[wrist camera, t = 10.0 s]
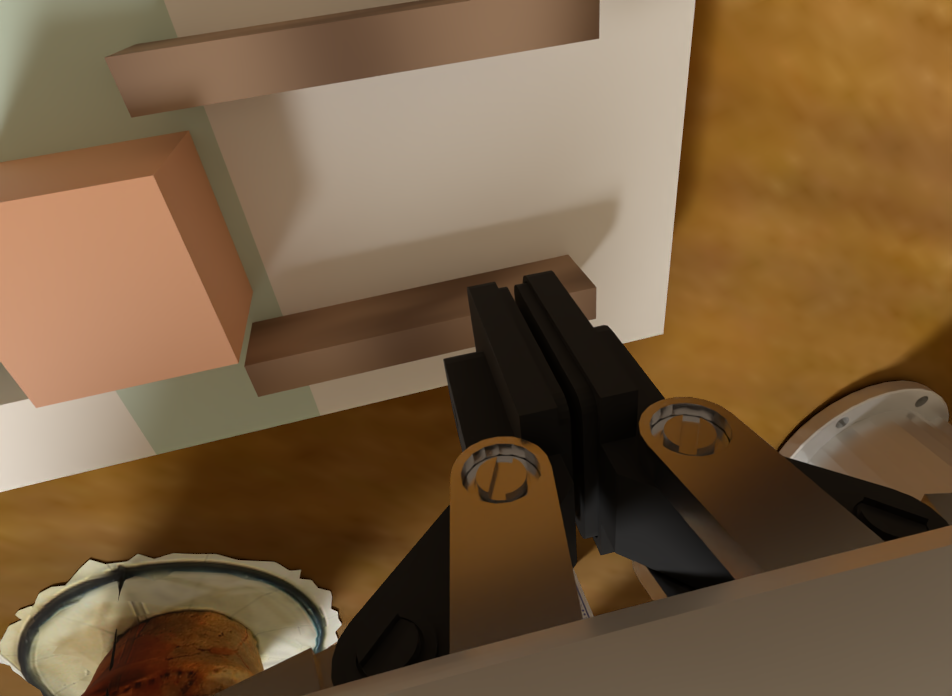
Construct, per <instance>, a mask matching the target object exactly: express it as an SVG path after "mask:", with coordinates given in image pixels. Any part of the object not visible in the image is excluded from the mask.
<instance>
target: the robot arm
mask: <svg viewBox="0 0 952 696" xmlns="http://www.w3.org/2000/svg"><path fill="white" fill-rule="evenodd" d="M467 295H468V302H469V309H470V315H471V322H472V329H473V335H474V342H475V349H476V352H473V353H468V354H463V355H458V356H454V357H449V358H444V359H443V361H444V367H445V373H446V378H447V383H448V388H449V393H450V398H451V403H452V408H453V413H454V417H455V422H456V426H457V431H458V435H459V439H460V443H461V447H462V453H461V454H460V455H459V456H458V458H457V459H456V461H455V463H454V464H453V466H452V470H451V475H450V505H449V506H448V507H447V508H446V509H445V510H444V512H443V513H442V514H441V515H440V516H439V518H438V519H437V520H436V521H435V522H434V523H433V525H432V526H431V527H430V528H429V529H428V531H427V532H426V533H425V534H424V535H423V537H422V538H421V539H420V540H419V541H418V542H417V544H416V545H415V546H414V547H413V548H412V550H411V551H410V552H409V553H408V554H407V555H406V557H405V558H404V559H403V560H402V561H401V563H400V564H399V565H398V566H397V567H396V568H395V570H394V571H393V572H392V573H391V574H390V576H389V577H388V578H387V579H386V580H385V582H384V583H383V584H382V585H381V586H380V587H379V589H378V590H377V591H376V592H375V593H374V595H373V596H372V597H371V598H370V599H369V600H368V602H367V603H366V604H365V605H364V606H363V608H362V609H361V610H360V611H359V612H358V613H357V615H356V616H355V617H354V618H353V619H352V621H351V622H350V623H349V624H348V626H347V627H346V629H345V630H344V632H343V633H342V635H341V637H340V638H339V640H338V642H337V644H335V645H333V646H331V647H329V648H327V649H325V650H323V651H321V652H319V653H317V654H315V653H314V651H313V650H312V648H309V649H307V650H305V651H303V652H301V653H299V654H297V655H295V656H292V657H290V658H288V659H286V660H284V661H282V662H280V663H278V664H276V665H274V666H272V667H270V668H268V669H266V670H264V671H261V672H259V673H257V674H255V675H253V676H251V677H249V678H247V679H245V680H243V681H241V682H239V683H237V684H235V685H233V686H230V687H228V688H226V689H224V690H222V691H220V692H218V693H216V694H214V695H212V696H952V425H951V424H950V423H948V419H949V412H948V408H947V404H946V403H945V401H944V400H943V398H942V397H941V396H939V395H938V394H937V393H935V392H934V391H932V390H931V389H930V388H928V387H927V386H925V385H922V384H920V383H917V382H912V381H892V382H884V383H881V384H877V385H873V386H869V387H866V388H864V389H861V390H859V391H856V392H854V393H851V394H849V395H847V396H845V397H843V398H842V399H840V400H838V401H836V402H834V403H832V404H831V405H829V406H828V407H826V408H825V409H823V410H822V411H820V412H819V413H818V414H816V415H815V416H813V417H812V418H811V419H810V420H809V421H808V422H806V423H805V424H804V425H803V426H802V427H800V428H799V429H798V430H797V431H796V432H795V433H794V434H793V436H792V437H791V438H790V439H789V440H788V441H787V442H786V443H785V444H784V446H783V447H782V448H781V450H780V451H779V452H778V451H776V450H775V449H774V448H773V447H772V446H770V445H769V444H768V443H767V442H766V441H764V440H763V439H762V438H761V437H760V436H759V435H757V434H756V433H755V432H754V431H753V430H751V429H750V428H749V427H748V426H747V425H745V424H744V423H743V422H742V421H741V420H739V419H738V418H737V417H736V416H735V415H734V414H732V413H731V412H729V411H728V410H726V409H725V408H723V407H722V406H720V405H718V404H715V403H713V402H710V401H707V400H704V399H699V398H693V397H673V398H668V399H665V398H664V397H663V396H662V394H661V393H660V392H659V390H658V389H657V388H656V386H655V385H654V384H653V383H652V381H651V380H650V379H649V377H648V376H647V375H646V373H645V372H644V371H643V370H642V368H641V367H640V366H639V364H638V363H637V362H636V361H635V359H634V358H633V357H632V355H631V354H630V353H629V351H628V350H627V349H626V348H625V346H624V345H623V344H622V342H621V341H620V340H619V338H618V337H617V336H616V335H615V333H614V332H613V331H612V329H611V328H610V327H608V326H607V325H601V326H597V327H593V326H592V325H591V323H590V322H589V320H588V319H587V318H586V316H585V315H584V314H583V312H582V311H581V309H580V308H579V307H578V305H577V304H576V302H575V301H574V300H573V298H572V297H571V295H570V294H569V293H568V291H567V290H566V289H565V287H564V286H563V284H562V283H561V282H560V280H559V279H558V277H557V276H556V275H555V273H554V272H553V271H552V270H550V271H545V272H540V273H535V274H530V275H525V276H523V283H522V284H517V285H515V286H514V296H515V300H514V298H513V297H512V295H511V293H510V291H509V289H508V287H502V288H498V286H497V284H496V282H490V283H485V284H480V285H475V286H470V287H467ZM575 522H576V524H575ZM576 525H577V527H578V529H579V532H580V534H581V536H582V537H583V538H584V539H586V538H590V537H593V539H594V541H595V543H596V546H597V548H598V550H599V552H600V555H604V554H608V553H612V552H615V553H617V554H619V555H622V556H624V557H626V558H628V559H631V560H632V562H633V569H634V571H635V573H636V575H637V577H638V579H639V581H640V582H641V584H642V585H643V587H644V588H645V590H646V591H647V592H648V594H649V595H650V597H651V598H652V600H653V601H652V602H648V603H644V604H640V605H636V606H632V607H628V608H624V609H620V610H617V611H613V612H609V613H605V614H601V615H598V616H594V617H590V618H586V619H583V616H582V612H581V607H580V602H579V597H578V592H577V587H576V582H575V578H574V573H573V568H574V566H575V565H576V563H577V551H576Z"/></svg>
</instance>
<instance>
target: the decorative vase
mask: <svg viewBox="0 0 952 696" xmlns="http://www.w3.org/2000/svg"><path fill="white" fill-rule="evenodd" d="M300 572H301V570H293V571H289V570H288V569H286V568H284V567H283V566H281V565H280V564H278V563H276V562H267V561H247V560H236V559H232V558H228V557H225V556H221V555H218V554H180V553H172V554H169V555H166V556H162V557H159V558H156V559H152V558H149V557H146V556H143V555H140V554H137V555H135V556H134V557H133V558H132V559H130V560H129V561H127V562H119V563H112V564H103V563H99V562H96V561H93V560H89V561H88V562H86V563H85V564H84V565H83V566H82V567H81V568H80V569H79V570H78V571H77V572H76V574H75V575H74V576H73V577H72V579H71V580H70V581H69V582H68V583H67V584H66V586H56V587H50V588H49V589H47V590H45V591H43V592H41V593H39V595H38V597H37V599H36V602H35V604H34V605H33V606H30V607H27V608H24V609H21V610H19V611H18V612H17V613H16V616H17V617H19V618H20V619H21V621H18V622H16V623H14V624H12V625H10V626H9V627H8V629H7V631H6V632H5V634H4V636H3V638H2V640H1V642H0V650H1V652H0V663H3V664H6V665H10V666H11V668H12V670H13V671H14V672H16V673H17V674H19V675H20V676H21V677H23V678H24V679H25V680H26V681H27V682H28V683H30V684H32V685H33V686H35V687H36V688H38V689H39V690H40V691H41V692H42V694H43V696H212V695H214V694H216V693H218V692H220V691H222V690H224V689H226V688H228V687H230V686H233V685H235V684H237V683H239V682H241V681H243V680H245V679H247V678H249V677H251V676H253V675H255V674H257V673H259V672H261V671H264V670H266V669H268V668H270V667H272V666H274V665H276V664H278V663H280V662H282V661H284V660H286V659H288V658H290V657H292V656H295V655H297V654H299V653H301V652H303V651H305V650H307V649H309V648H312V650H313V651H314V653H315V654H317V653H319V652H321V651H323V650H325V649H327V648H328V647H329V646H331V645H332V644H334V643H335V642H337V641H338V639H337V636H336V633H335V632H336V630H337V629H338V628H339V627H340V626H341V625H342V624H341V622H340V621H339V619H338V612H337V611H335V610H333V609H331V602H332V595H331V592H330V591H328V590H324V589H320V588H317V586H316V585H315V584H314V582H313V581H312V580H307V579H299V578H300Z"/></svg>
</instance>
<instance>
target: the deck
mask: <svg viewBox="0 0 952 696" xmlns="http://www.w3.org/2000/svg"><path fill="white" fill-rule="evenodd" d="M413 1H419V0H0V162H6V161H12V160H18V159H23V158H29V157H35V156H41V155H47V154H53V153H59V152H65V151H71V150H76V149H82V148H88V147H94V146H100V145H106V144H112V143H118V142H123V141H129V140H135V139H141V138H147V137H153V136H159V135H165V134H171V133H176V132H182V131H188V130H189V132H190V135H191V137H192V140H193V142H194V145H195V147H196V150H197V152H198V155H199V157H200V160H201V162H202V165H203V167H204V170H205V172H206V175H207V177H208V180H209V182H210V185H211V187H212V190H213V192H214V195H215V197H216V200H217V202H218V205H219V207H220V210H221V212H222V215H223V217H224V220H225V222H226V225H227V227H228V230H229V232H230V235H231V237H232V240H233V243H234V245H235V248H236V250H237V253H238V255H239V258H240V260H241V263H242V265H243V268H244V270H245V273H246V275H247V278H248V280H249V283H250V285H251V288H252V290H253V295H252V300H251V305H250V310H249V315H248V320H247V325H246V329H245V334H244V339H243V344H242V349H241V354H240V359H239V363H238V364H233V365H229V366H224V367H220V368H215V369H211V370H206V371H202V372H197V373H192V374H188V375H183V376H179V377H174V378H170V379H165V380H161V381H156V382H152V383H147V384H143V385H138V386H134V387H129V388H125V389H120V390H115V391H111V392H106V393H102V394H97V395H93V396H88V397H84V398H79V399H75V400H70V401H66V402H61V403H57V404H52V405H48V406H43V407H39V408H36V407H35V406H34V405H33V403H32V402H31V401H30V400H29V398H28V397H27V396H26V394H25V393H24V392H23V390H22V389H21V388H20V387H19V385H18V384H17V383H16V381H15V380H14V379H13V377H12V376H11V375H10V373H9V372H8V371H7V370H6V368H5V367H4V366H3V364H2V363H1V362H0V492H2V491H7V490H11V489H15V488H19V487H23V486H28V485H32V484H36V483H40V482H44V481H49V480H53V479H57V478H61V477H65V476H70V475H74V474H78V473H82V472H86V471H91V470H95V469H99V468H103V467H107V466H111V465H116V464H120V463H124V462H128V461H132V460H137V459H141V458H145V457H149V456H153V455H158V454H162V453H166V452H170V451H174V450H179V449H183V448H187V447H191V446H195V445H200V444H204V443H208V442H212V441H216V440H220V439H225V438H229V437H233V436H237V435H241V434H246V433H250V432H254V431H258V430H262V429H267V428H271V427H275V426H279V425H283V424H288V423H292V422H296V421H300V420H304V419H309V418H313V417H317V416H321V415H325V414H329V413H334V412H338V411H342V410H346V409H350V408H355V407H359V406H363V405H367V404H371V403H376V402H380V401H384V400H388V399H392V398H397V397H401V396H405V395H409V394H413V393H418V392H422V391H426V390H430V389H434V388H438V387H443V386H447V385H448V383H447V378H446V373H445V367H444V361H443V359H444V358H449V357H454V356H458V355H463V354H468V353H473V352H476V349H475V347H472V348H468V349H464V350H459V351H455V352H451V353H446V354H442V355H438V356H433V357H429V358H425V359H420V360H416V361H412V362H407V363H403V364H399V365H394V366H390V367H386V368H382V369H377V370H373V371H369V372H364V373H360V374H356V375H351V376H347V377H343V378H338V379H334V380H330V381H325V382H321V383H317V384H312V385H308V386H304V387H299V388H295V389H291V390H287V391H282V392H278V393H274V394H269V395H265V396H261V397H258V396H257V393H256V391H255V389H254V387H253V385H252V382H251V380H250V378H249V376H248V374H247V371H246V369H245V367H244V365H245V359H246V354H247V349H248V343H249V338H250V333H251V327H252V323H253V322H258V321H263V320H267V319H272V318H277V317H281V316H286V315H290V314H295V313H300V312H304V311H309V310H314V309H318V308H323V307H327V306H332V305H337V304H341V303H346V302H351V301H355V300H360V299H365V298H369V297H374V296H378V295H383V294H388V293H392V292H397V291H402V290H406V289H411V288H416V287H420V286H425V285H429V284H434V283H439V282H443V281H448V280H453V279H457V278H462V277H467V276H471V275H476V274H480V273H485V272H490V271H494V270H499V269H504V268H508V267H513V266H517V265H522V264H527V263H531V262H536V261H541V260H545V259H550V258H555V257H559V256H564V255H569V256H570V257H571V258H572V259H573V261H574V262H575V263H576V264H577V265H578V266H579V268H580V269H581V270H582V271H583V272H584V273H585V275H586V276H587V277H588V278H589V279H590V280H591V281H592V283H593V284H594V285H595V286H596V319H593V320H589V322H590V323H591V325H592V326H593V327H597V326H601V325H607V326H608V327H610V328H611V329H612V331H613V332H614V333H615V335H616V336H617V337H618V338H619V340H620V341H621V342H622V344H623V343H627V342H631V341H636V340H640V339H644V338H648V337H652V336H656V335H661V334H663V331H664V320H665V310H666V300H667V289H668V279H669V269H670V258H671V248H672V238H673V227H674V217H675V207H676V196H677V186H678V176H679V165H680V155H681V144H682V134H683V124H684V113H685V103H686V93H687V82H688V72H689V62H690V51H691V41H692V31H693V20H694V10H695V0H600V20H599V39H594V40H588V41H582V42H576V43H571V44H565V45H559V46H553V47H547V48H541V49H535V50H529V51H523V52H517V53H511V54H505V55H499V56H494V57H488V58H482V59H476V60H470V61H464V62H458V63H452V64H446V65H440V66H434V67H428V68H422V69H417V70H411V71H405V72H399V73H393V74H387V75H381V76H375V77H369V78H363V79H357V80H351V81H345V82H340V83H334V84H328V85H322V86H316V87H310V88H304V89H298V90H292V91H286V92H280V93H274V94H268V95H263V96H257V97H251V98H245V99H239V100H233V101H227V102H221V103H215V104H209V105H203V106H197V107H191V108H186V109H180V110H174V111H168V112H162V113H156V114H150V115H144V116H138V117H132V118H131V116H130V114H129V111H128V109H127V107H126V105H125V103H124V100H123V98H122V96H121V94H120V91H119V89H118V87H117V85H116V83H115V80H114V78H113V76H112V74H111V72H110V69H109V67H108V65H107V63H106V61H105V58H104V57H107V56H109V55H111V54H114V53H116V52H118V51H121V50H123V49H126V48H128V47H130V46H133V45H135V44H140V43H147V42H153V41H160V40H166V39H173V38H179V37H186V36H192V35H199V34H205V33H212V32H218V31H225V30H231V29H238V28H244V27H251V26H257V25H264V24H270V23H277V22H283V21H289V20H296V19H302V18H309V17H315V16H322V15H328V14H335V13H341V12H348V11H354V10H361V9H367V8H374V7H380V6H387V5H393V4H400V3H406V2H413Z"/></svg>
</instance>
